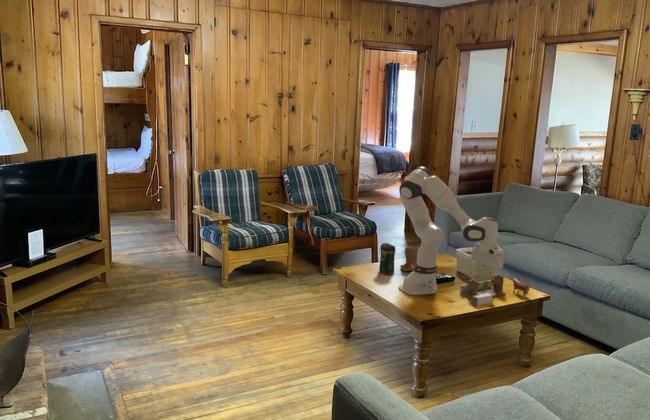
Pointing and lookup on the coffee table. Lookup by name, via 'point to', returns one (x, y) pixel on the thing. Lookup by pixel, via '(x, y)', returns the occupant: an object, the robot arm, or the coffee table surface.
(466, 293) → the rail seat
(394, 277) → the coffee table surface
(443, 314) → the coffee table surface
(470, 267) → the storage basket
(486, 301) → the rail bar
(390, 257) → the coffee jar
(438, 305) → the coffee table surface
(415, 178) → the robot arm
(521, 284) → the bull figurine
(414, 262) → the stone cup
